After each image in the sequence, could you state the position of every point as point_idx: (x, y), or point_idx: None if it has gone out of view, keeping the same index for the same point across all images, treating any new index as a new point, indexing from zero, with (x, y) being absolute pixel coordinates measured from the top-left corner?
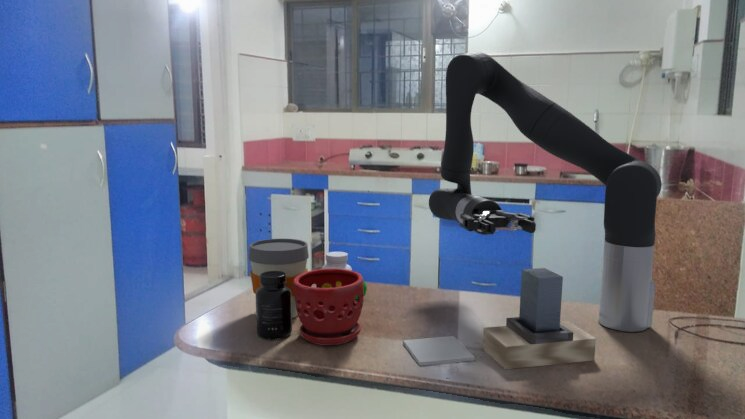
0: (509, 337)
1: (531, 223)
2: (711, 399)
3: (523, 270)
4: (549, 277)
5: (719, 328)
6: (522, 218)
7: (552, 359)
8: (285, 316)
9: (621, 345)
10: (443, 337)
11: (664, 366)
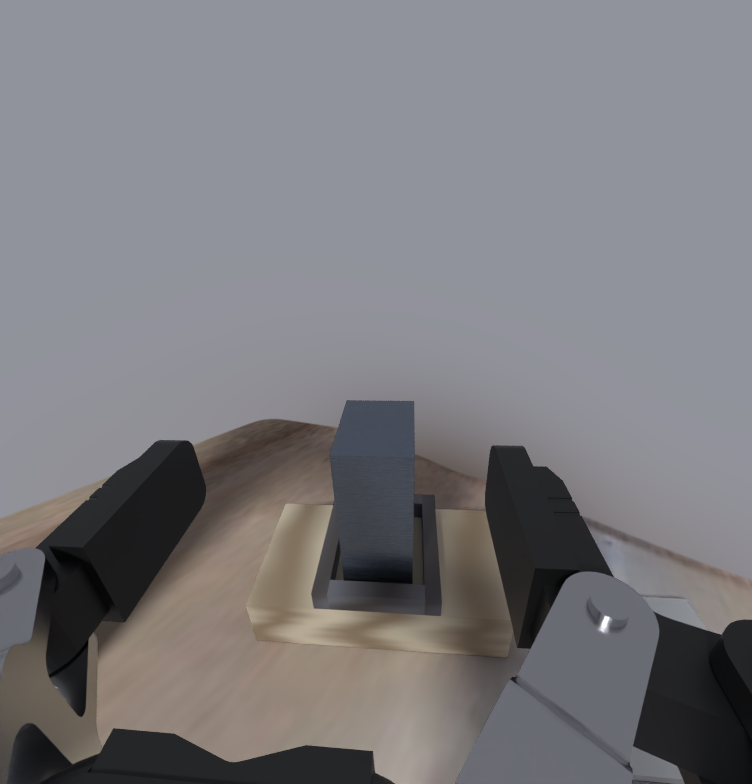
0: (463, 546)
1: (189, 443)
2: (260, 433)
3: (414, 450)
4: (383, 401)
5: None
6: (48, 569)
7: None
8: None
9: (166, 580)
10: (643, 766)
11: (207, 496)
